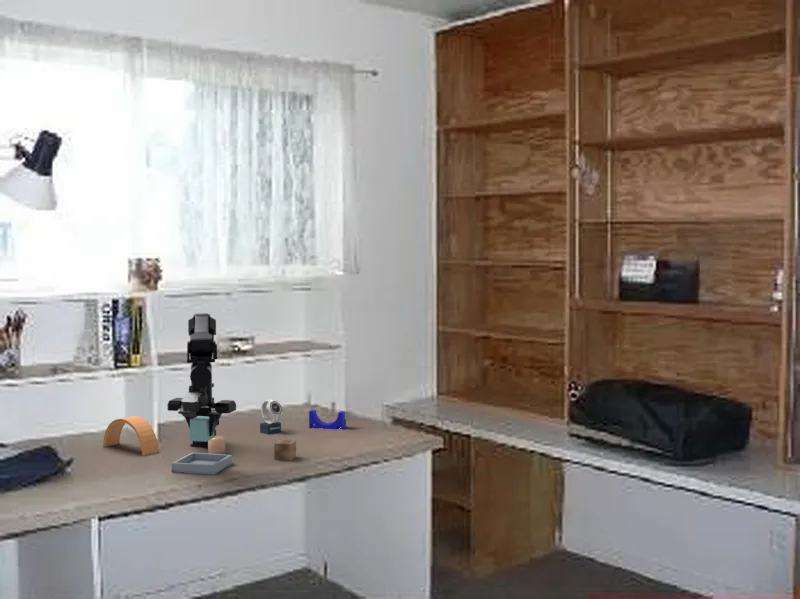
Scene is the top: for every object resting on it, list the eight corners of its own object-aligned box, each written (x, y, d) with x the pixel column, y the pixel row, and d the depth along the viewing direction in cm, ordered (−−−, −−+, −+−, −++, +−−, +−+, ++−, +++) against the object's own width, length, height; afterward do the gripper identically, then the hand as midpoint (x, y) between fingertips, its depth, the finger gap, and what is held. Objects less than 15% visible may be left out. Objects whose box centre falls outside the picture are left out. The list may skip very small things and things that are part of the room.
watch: (271, 435, 290) (271, 402, 289) (256, 431, 295) (256, 399, 294) (284, 432, 294) (284, 400, 293) (270, 429, 299) (269, 397, 298)
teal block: (190, 440, 246) (189, 419, 245) (198, 436, 251) (197, 416, 250) (206, 441, 245) (206, 420, 244) (214, 437, 250) (213, 416, 249)
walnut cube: (274, 459, 258) (274, 443, 257) (280, 455, 263) (280, 439, 262) (290, 461, 257) (290, 444, 256) (296, 456, 261) (296, 440, 261)
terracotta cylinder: (205, 455, 263) (205, 439, 262) (212, 451, 267) (212, 435, 267) (220, 456, 261) (220, 439, 261) (227, 452, 266) (227, 436, 266)
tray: (171, 471, 243) (171, 463, 243) (192, 460, 256) (192, 452, 256) (213, 474, 241) (213, 465, 240) (232, 463, 253) (232, 454, 253)
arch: (143, 456, 262) (142, 423, 261) (103, 446, 274) (102, 415, 273) (158, 452, 266) (158, 420, 266) (118, 443, 278) (118, 412, 278)
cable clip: (346, 427, 303) (346, 410, 303) (342, 430, 299) (342, 412, 299) (313, 425, 306) (313, 408, 306) (309, 428, 302) (309, 411, 301)
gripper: (157, 384, 241) (158, 440, 242) (220, 387, 237) (220, 443, 238) (176, 378, 252) (177, 431, 253) (236, 380, 247) (237, 435, 249)
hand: (202, 435), depth 248 cm, fingers closed on teal block, 5 cm apart
